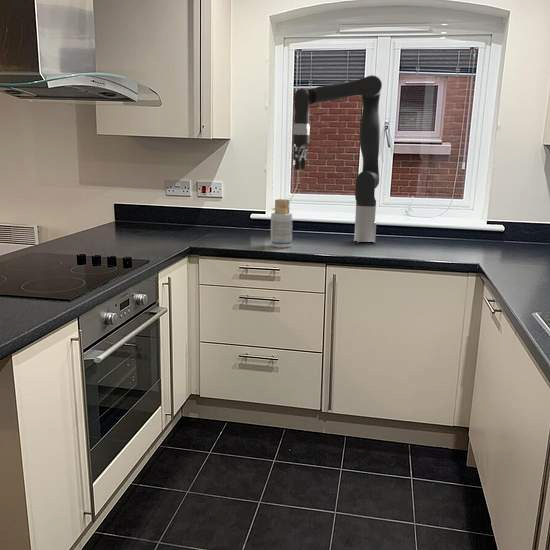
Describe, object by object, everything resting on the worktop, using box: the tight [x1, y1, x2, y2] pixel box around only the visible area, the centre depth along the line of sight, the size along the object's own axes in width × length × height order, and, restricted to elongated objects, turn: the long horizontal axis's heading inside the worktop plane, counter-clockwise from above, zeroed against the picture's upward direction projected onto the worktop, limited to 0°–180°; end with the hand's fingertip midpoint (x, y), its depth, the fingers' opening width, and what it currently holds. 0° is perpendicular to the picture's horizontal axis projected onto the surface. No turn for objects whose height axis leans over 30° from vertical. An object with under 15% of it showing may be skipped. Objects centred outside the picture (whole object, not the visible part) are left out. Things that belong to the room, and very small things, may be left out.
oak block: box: [274, 198, 290, 214], centre depth 257 cm, size 5×5×6 cm
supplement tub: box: [270, 212, 293, 249], centre depth 259 cm, size 10×10×15 cm
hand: (300, 169), depth 275 cm, fingers open, 8 cm apart
